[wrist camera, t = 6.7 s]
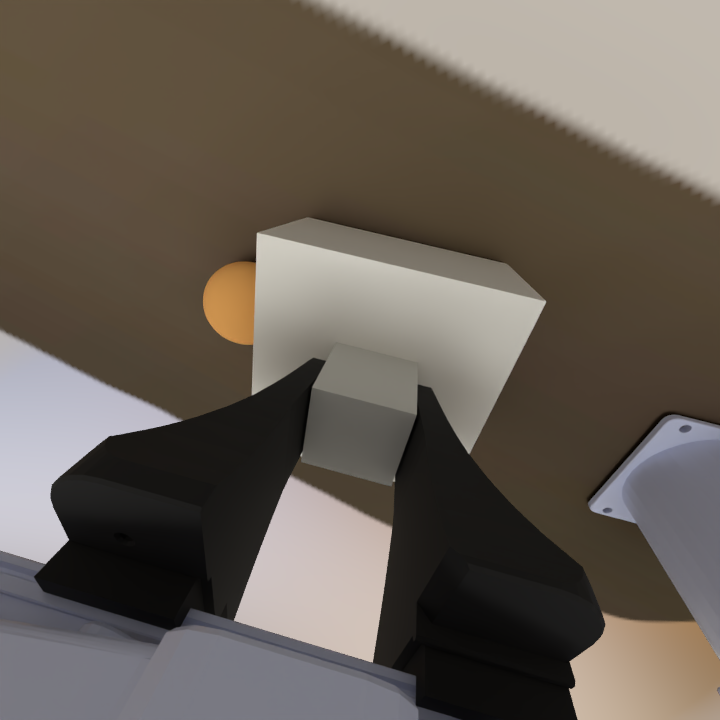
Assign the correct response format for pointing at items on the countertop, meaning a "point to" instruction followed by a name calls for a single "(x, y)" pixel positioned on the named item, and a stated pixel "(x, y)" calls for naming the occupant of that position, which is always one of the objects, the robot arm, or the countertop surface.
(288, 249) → the grey knobbed block
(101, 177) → the countertop surface
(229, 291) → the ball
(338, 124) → the countertop surface
